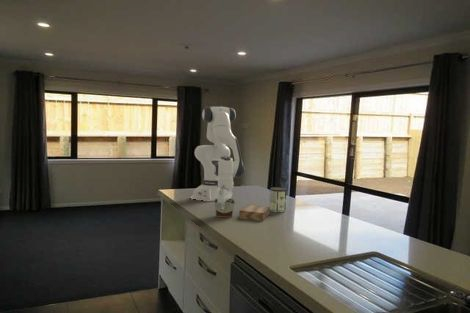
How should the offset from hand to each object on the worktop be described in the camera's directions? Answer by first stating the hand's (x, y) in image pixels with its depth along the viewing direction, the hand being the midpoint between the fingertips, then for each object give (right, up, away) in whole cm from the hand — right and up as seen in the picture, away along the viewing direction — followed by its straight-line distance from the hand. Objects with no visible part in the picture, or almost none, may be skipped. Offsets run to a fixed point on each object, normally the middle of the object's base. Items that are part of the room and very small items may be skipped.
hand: (224, 207), depth 201 cm
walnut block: (+18, -6, +2) cm, 19 cm away
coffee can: (+33, -5, +19) cm, 39 cm away
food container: (0, -5, +1) cm, 5 cm away
